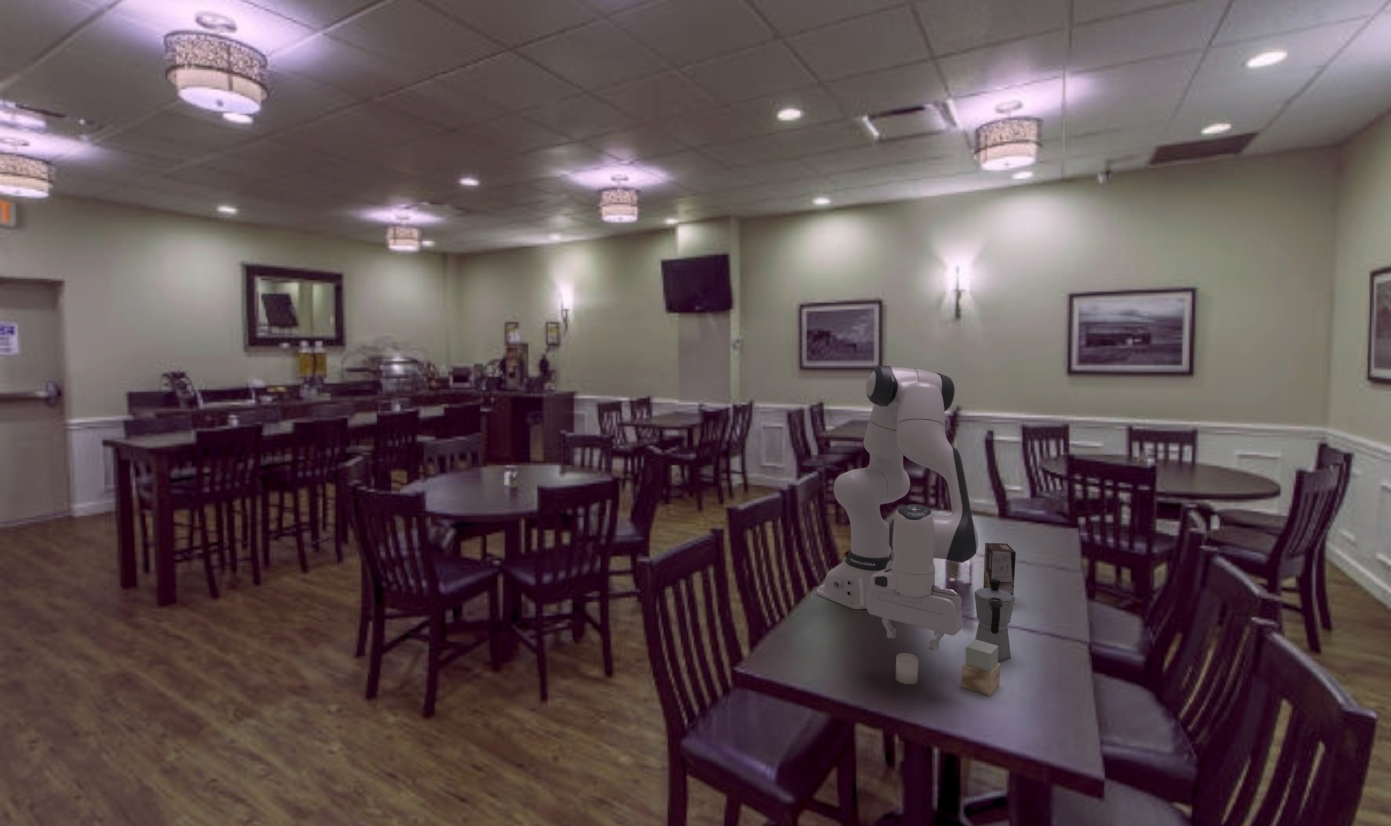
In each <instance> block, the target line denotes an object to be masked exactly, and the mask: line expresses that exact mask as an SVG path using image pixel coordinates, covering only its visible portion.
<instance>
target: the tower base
mask: <svg viewBox="0 0 1391 826" xmlns="http://www.w3.org/2000/svg"><path fill="white" fill-rule="evenodd" d="M960 676H961V678H960V679H961V680H960V682H961V683H960V687H961V686H963V687H962V688H964V687H965V689H967V688H968V690H970V689H971V691H974V692H976V693H979V694H981V695H986V696H989V697H991V696H992V694H994V692H995V691H996V690H997V689H998V688H999V687H1000V679H1001V663H999V662H998V664H997V665H996V666H995V667H994V668H993V669H992V670H991V672H988V671H984V670H981V669H978V668H975V667H972V666H968V665H966V660H965V661H964V662H963V663H962V664H961V675H960ZM997 687H998V688H997Z"/></svg>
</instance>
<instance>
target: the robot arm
mask: <svg viewBox="0 0 1391 826" xmlns="http://www.w3.org/2000/svg"><path fill="white" fill-rule="evenodd" d="M865 390H866V397H867V398H868V400H869V402H871V403H872V404H873V407H872V409H871V413H870V416H869V419H868V423H867V425H866V426H867V427H866V430H865V434H864V438H863V448H864V449H865V450H866V452H867V453H869V463H868V465H867V466H866V467H860V468H855V469H850V470H848V471H845V472H844V473H841V474H840V475H838V476H837V477H836V478H835V480H834V482H833V494H834V497H835V499H836V501H837V502H838V504H839V505H840V506H842V508H844V509H845V512H846V515H847V516H848V520H849V523H850V549H847V550H846V551H845V552H843V553H842V558H844V557H845V560H844V561H843V562H841V563H840V564H837V565H836V566H835V567H833V568H831V569H830V570H829V571H828V572H827V574H826V576H825V579H824V583H823V584H821V585H819V586H818V587H817V588H816V595H817V596H819V597H822V598H825V599H827V600H830V601H832V602H835V603H837V604H840V605H842V606H845V607H847V608H849V609H852V610H864V609H866V610H867V612H868V613H869V615H872V616H875V617H878V618H879V617H880V618H881V623H882V624H883V626H884V628H885V630H886V638H888V639H892V640H894V639H896V638H897V629H896V628H894V627H893V624H892V623H891V621H895V622H899V623H903V624H905V625H906V624H907V625H910V626H914V627H918V628H922V629H925V630H929V631H933V635H934V636H935V638H934V639H933V638H931V639H930V640H929V641H928V650H931V651H935V652H936V651H938V649H939V646H940V645H939V642H940V641H941V639H942V638H943V636H944V635H948V636H956V635H958V634H959V632H960V631H962V628H963V621H962V619H963V618H962V612H961V610H962V608H963V599H962V596H961V595H960V594H959V593H957V592H956V590H954V589H952V588H951V589H950V588H944V587H940V586H937V585H936V582H935V580H936V579H935V578H936V577H935V576H936V575H935V574H936V566H935V563H934V559H939V560H947V561H949V562H956V563H961V564H963V563H965V562H967V561H968V560H970V559H972V558H973V557H974V556H975V555H976V554H977V551H978V547H979V535H978V530H977V527H976V525H975V522H974V520H973V515H972V510H971V509H972V508H971V501H970V498H969V490H968V486H967V481H966V480H967V479H966V474H965V471H964V466H963V461H962V457H961V454H960V451H959V450H958V449H957V448H956V447H954V446H952V445H951V443H950V442H949V440H948V438H947V435H946V413H945V412H946V411H948V410H949V409H950V407H951V406H952V404H953V402H954V398H955V391H956V390H955V384H954V381H953V380H952V378H951V377H949V376H947V375H945V374H942V373H940V372H937V373H935V372H931V371H928V370H924V369H919V368H915V367H914V368H910V367H909V368H908V367H897V366H890V365H877V366H875V367H874V368H873V369H872V370H871V372H869V375H868V377H867V380H866V386H865ZM904 457H905V458H906V459H907V460H909V461H911V462H912V463H915V464H917V465H919V466H922V467H924V468H927V469H929V470H931V471H933V472H935V473H937V474H939V475H940V476H942V477H943V479H945V481H946V484H947V487H948V493H949V499H950V505H951V511H952V512H951V514H950V515H938V514H933V511H932V510H931V509H930V507H929V508H928V507H927V506H924V505H920V504H911V503H910V504H904V505H902V506H899V507H898V508H897V509H896V511H895V516H894V519H893V520H891V522H889V523H888V522H887V521H886V520H884V519H883V516H882V513H881V509H880V507H881V505H885V504H889V503H894V502H895V501H898V500H900V499H902V498H903V497H905V496H906V495H907V494H908V493H909V491H910V489H911V488H910V487H911V481H910V476H909V475H908V472H907V471H906V470H905V468H904ZM891 551H893V554H892V552H891Z"/></svg>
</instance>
